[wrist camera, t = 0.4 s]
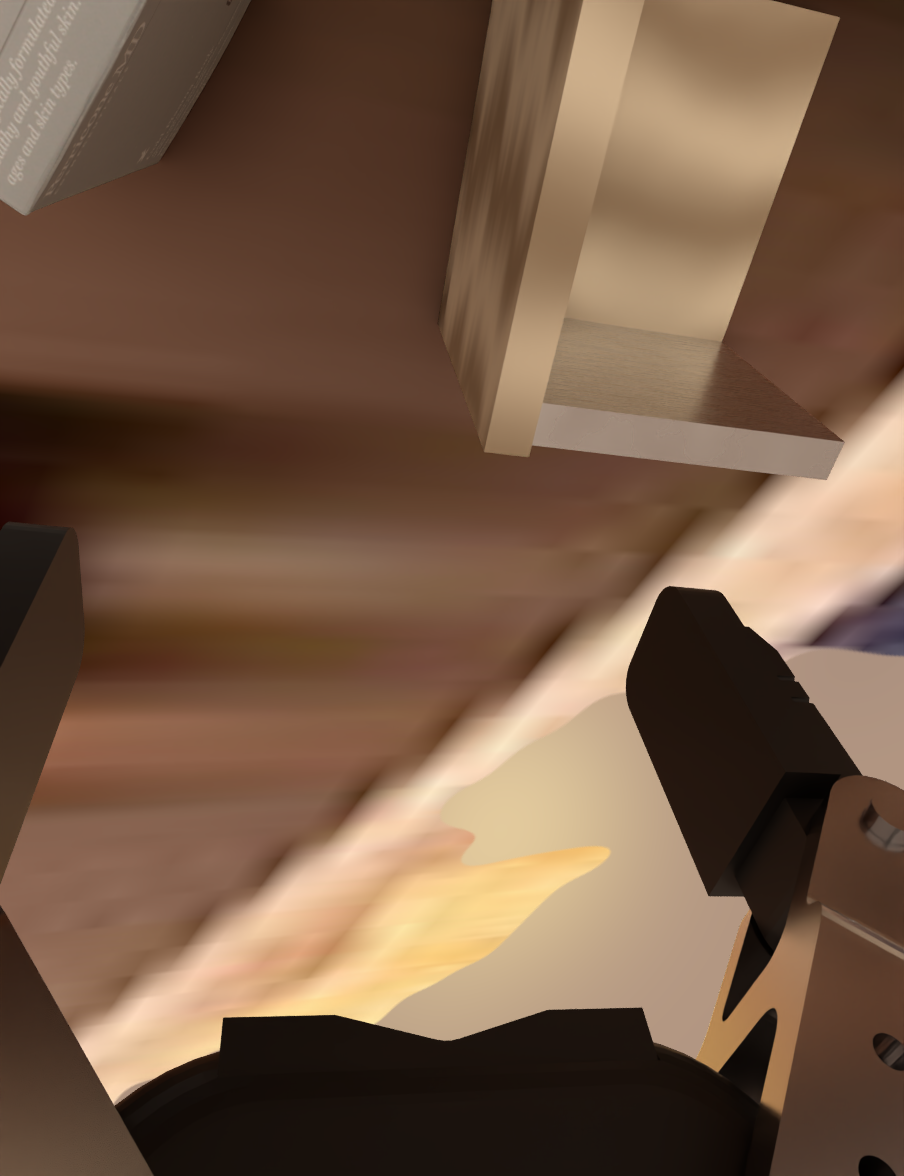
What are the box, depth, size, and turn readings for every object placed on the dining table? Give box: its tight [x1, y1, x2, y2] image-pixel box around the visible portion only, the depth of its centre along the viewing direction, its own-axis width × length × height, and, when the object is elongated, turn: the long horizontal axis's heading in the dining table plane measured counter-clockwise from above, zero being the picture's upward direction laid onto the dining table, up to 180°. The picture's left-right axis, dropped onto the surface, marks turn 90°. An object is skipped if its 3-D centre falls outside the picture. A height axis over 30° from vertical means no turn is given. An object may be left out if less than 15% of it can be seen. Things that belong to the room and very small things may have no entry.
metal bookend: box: [532, 318, 845, 480], centre depth 33 cm, size 2×12×11 cm, turn 80°
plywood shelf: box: [438, 0, 840, 457], centre depth 29 cm, size 14×13×14 cm
